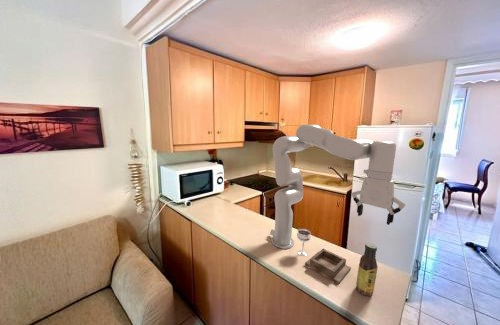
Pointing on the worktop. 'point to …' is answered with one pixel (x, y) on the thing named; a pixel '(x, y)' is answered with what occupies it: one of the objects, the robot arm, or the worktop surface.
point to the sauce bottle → (367, 270)
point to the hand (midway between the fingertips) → (373, 219)
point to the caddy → (329, 265)
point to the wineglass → (303, 239)
